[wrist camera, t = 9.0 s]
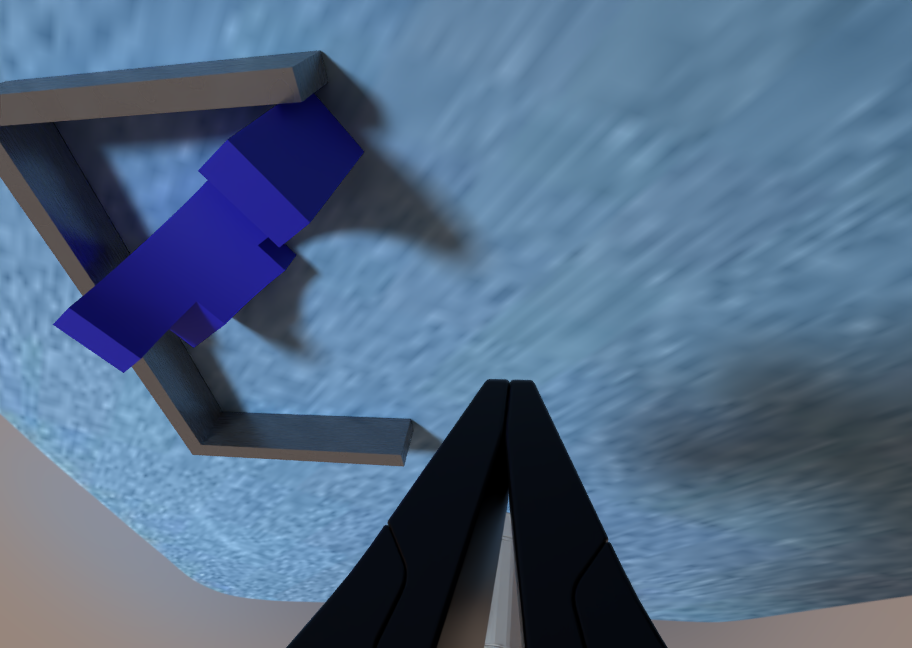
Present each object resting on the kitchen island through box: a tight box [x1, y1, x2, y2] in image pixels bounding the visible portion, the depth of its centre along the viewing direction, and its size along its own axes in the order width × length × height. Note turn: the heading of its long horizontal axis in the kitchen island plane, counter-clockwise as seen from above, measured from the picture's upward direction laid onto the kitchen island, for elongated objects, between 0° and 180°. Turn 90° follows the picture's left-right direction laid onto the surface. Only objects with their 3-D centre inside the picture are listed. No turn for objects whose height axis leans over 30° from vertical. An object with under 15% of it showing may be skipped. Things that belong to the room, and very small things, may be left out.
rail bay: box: [0, 51, 413, 466], centre depth 23 cm, size 13×20×3 cm, turn 6°
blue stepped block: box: [53, 93, 364, 373], centre depth 20 cm, size 12×4×6 cm, turn 128°
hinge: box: [484, 513, 522, 648], centre depth 32 cm, size 14×5×10 cm, turn 4°
